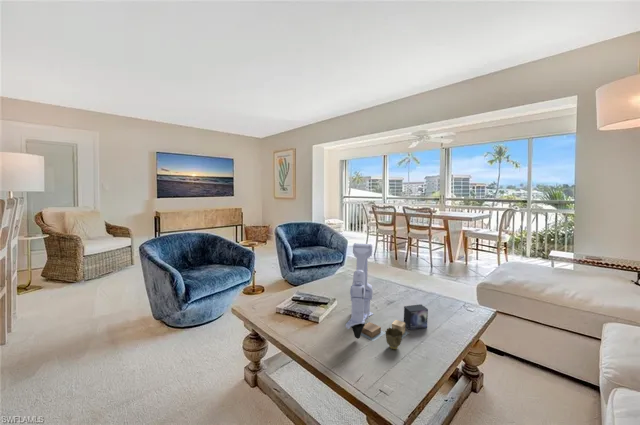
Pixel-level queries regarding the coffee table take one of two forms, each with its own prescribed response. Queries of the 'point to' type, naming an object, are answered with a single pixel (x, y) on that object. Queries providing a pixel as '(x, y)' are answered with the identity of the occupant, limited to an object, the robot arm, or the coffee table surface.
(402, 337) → the code tile
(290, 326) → the coffee table surface
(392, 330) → the cup
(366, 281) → the robot arm
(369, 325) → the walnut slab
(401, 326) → the oak block
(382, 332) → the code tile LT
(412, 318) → the small box
